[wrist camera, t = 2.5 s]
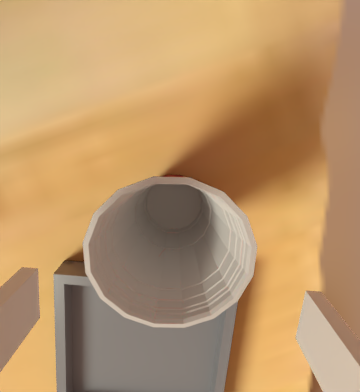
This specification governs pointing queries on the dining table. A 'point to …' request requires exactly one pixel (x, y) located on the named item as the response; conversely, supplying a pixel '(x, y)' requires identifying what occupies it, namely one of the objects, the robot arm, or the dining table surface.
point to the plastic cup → (169, 252)
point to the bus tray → (132, 345)
